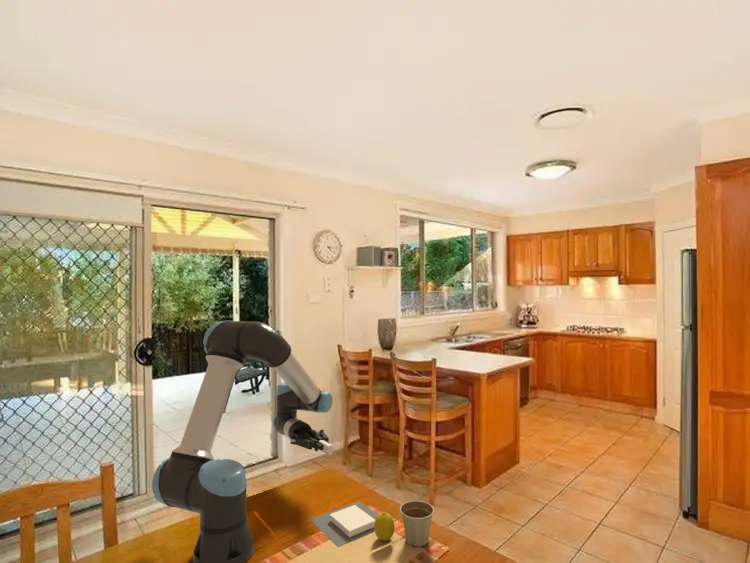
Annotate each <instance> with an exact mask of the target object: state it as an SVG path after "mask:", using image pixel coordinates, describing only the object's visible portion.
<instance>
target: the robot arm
mask: <svg viewBox="0 0 750 563" xmlns="http://www.w3.org/2000/svg"><path fill="white" fill-rule="evenodd" d="M202 343H203V345H204V346H203V349H204V352H205V353H206V356H205V360H206V361H207V364H208V365H207V368H206V370H205V373H204V376H203V379H202V381H201V382H202V383H201V385H200V388H199V391H198V394H197V396H196V400H195V402H194V406H193V407H192V410H191V414H190V416H189V419H188V422H187V425H186V427H185V430H184V434H183V436H182V439H181V442H180V445H178V446H177V447H176V448H174V449H173V450H171V453H170V456H169V458H165V459H164V460H163V461H162V462H161V464H158V466H157V467H156V469H155V471H154V473H153V476H152V481H151V491H152V494H153V496H154V498H155V500H156V501H157V502H159V503H160V504H162V505H166V506H168V507H169V508H177V509H181V510H186V511H189V512H193V513H197V514H199V532H198V534H197V539H196V541H195V545H194V548H193V551H192V563H246V562H248V560H249V559H250V558H252V556H253V553H254V550H255V547H254V546H255V545H254V544H255V543H254V542H255V541H254V537H253V534H252V532H251V531H252V530H251V528H250V526H249V523H248V522H247V520H248V519H247V485H248V483H247V477H246V469H245V467H244V466H243V464H242V463H241V462H239V461H237V460H234V459H230V458H223V459H220V458H217V459H215V457H214V456H213V454H212V449H213V446H214V442H215V439H216V437H217V433H218V430H219V426H220V423H221V421H222V417H223V414H224V411H225V408H226V405H227V401H228V400H229V399H228V398H229V396H230V394H231V389H232V387H233V383H234V380H235V377H236V374H237V371H239V370H241V369H242V368H243V367H244V364H245V362H246V360H247V359H248V360H256V361H260V362H262V363H263V364H264V365H265V366H266V367H268V368H271V369H273V370H274V371H275V372H276V373H277V375H278V376H279V377H280V378H281V380H283V382H281V383H278V385H276V386H277V387H276V414H275V415H274V417H273V419H272V427H273V428H274V429H275V431H277V433H279V434H281V435H283V436H284V437H286V438H287V439H289V440H290V445H296V446H299V447H302V448H304V449H306V450H307V449H308V450H313V449H314V452H318V451H321V452H323V453H325V454H326V455H333V453H334V452H333V449H334V448H333V444H331V443H330V442H329V439H330V438H329V436H328V435H327V434H326V433H325V431H324V429H320V430H318V431H317V430H315V429H312V427H311V425H310V424H309V423H307V422H305V421H303V420H302V419H300V418H297V417H298V414H297V412H298V411H304V412H313V413H318V414H319V413H324V414H325V413H328V412H330V410H331V408H332V406H333V401H334V400H333V395H332V393H331V392H329V391H325V390H321V389H320V388H319V387H318V385H317V384H316V382H315V381H314V380H313V378H312V377H311V376H310V375H309V374H308V372H307V371H306V369H305V368H304V367H303V365H301V363H300V362H299V360H298V359H297V358H296V357H295V355H294V354H293V352H292V351H293V350H292V346H291V345H290V344H289V342H288V341H287V340H286V338H284V336H282V334H280V333H279V332H278V331H277V330H275V329H274V328H272V327H271V326H269V325H268V324H265V323H264V322H261V321H254V320H253V321H249V320H248V321H242V320H241V321H240V320H232V319H231V320H230V319H228V320H222V321H221V320H220V321H217V322H215V323H213V324H211V325H210V326H209V328H208V329H207V330H206V332H205V334H204V338H203V342H202Z"/></svg>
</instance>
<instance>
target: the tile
mask: <svg viewBox="0 0 750 563" xmlns="http://www.w3.org/2000/svg"><path fill="white" fill-rule="evenodd" d="M330 521H331V522H332V523H333V524H334V525H336V526H337V527H338V528H339V529H340V530H341V531H342V532H344V533H345V534H346V535H347V536H348V537H349V538H351V537H353V536H355V535H358V534H360V533H363V532H365V531H367V530H370V529H372V528H374V524H375V519H373V518H372V517H371V516H369V515H368V514H367V513H365V512H364V511H363V510H361V509H360V508H359V507H357V506H356V505H353V506H351V507H348V508H345V509H343V510H340V511H337V512H334V513H332V514H330Z"/></svg>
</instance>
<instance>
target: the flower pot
mask: <svg viewBox="0 0 750 563" xmlns="http://www.w3.org/2000/svg"><path fill="white" fill-rule="evenodd" d="M399 512H400V514H401V517H402V521H403V526H404V527H403V529H404V534H405V541H406V543H407V544H408V545H410V546H412V545H413V546H415V547H423V545H424V546H426V545H427V544H428V542H429V538H430V529H431V522H432V519H433V515H434V514H435V508H434V506H432V504H430V503H429V502H427V501H423V500H409V501H406V502H404V503H402V504H401V505H400V507H399ZM425 544H426V545H425Z"/></svg>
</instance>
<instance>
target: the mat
mask: <svg viewBox="0 0 750 563" xmlns="http://www.w3.org/2000/svg"><path fill="white" fill-rule="evenodd" d="M353 505H356V506H357V507H359V508H360V509H361V510H363V511H364V512H365V513H367V514H368V515H369V516H371V517H372V518H373V519H375V520H376V517H377V516H378V515H379V514H378V513H377V512H375V511H374V510H372V509H371V508H370V507H368V506H367V505H366V504H364V503H363V502H362V501H360V500H358V501H356V502H353V503H350V504H347V505H345V506H341V507H339V508H336V509H333V510H330V511H327V512H325V513H322V514H320V515H317V516H315V517H312V518H309V519H308V521H310V522H311V523H312V524H313V525H314V526H315V527H317V529H319V531H321V532H322V533H323V534H324V535H325V536H326V537H327V538H328V539H329V540H330V541H331V542H332V543H333V544H334V545H335V546H336V547H337V548H340V547H342V546H344V545H346V544H349V543H351V542H353V541H356V540H358V539H361V538H363V537H365V536H368V535H370V534H372V533H375V529H374V528H372V529H370V530H367V531H365V532H363V533H360V534H358V535H355V536H353V537H351V538H349V537H348V536H347V535H346V534H345V533H344V532H342V531H341V530H340V529H339V528H338V527H337V526H336V525H334V524H333V523H332V522H331V521H330V514H332V513H334V512H337V511H340V510H343V509H345V508H348V507H351V506H353Z"/></svg>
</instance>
